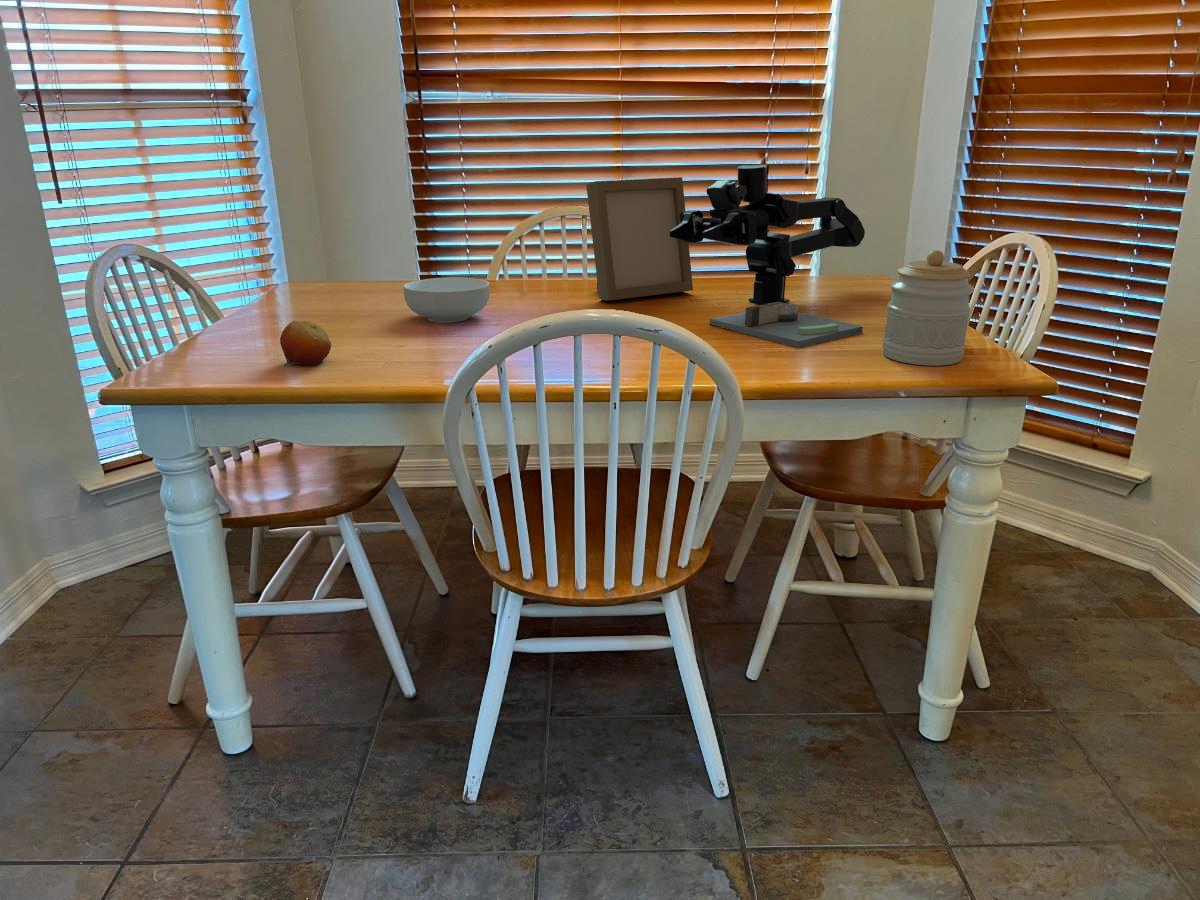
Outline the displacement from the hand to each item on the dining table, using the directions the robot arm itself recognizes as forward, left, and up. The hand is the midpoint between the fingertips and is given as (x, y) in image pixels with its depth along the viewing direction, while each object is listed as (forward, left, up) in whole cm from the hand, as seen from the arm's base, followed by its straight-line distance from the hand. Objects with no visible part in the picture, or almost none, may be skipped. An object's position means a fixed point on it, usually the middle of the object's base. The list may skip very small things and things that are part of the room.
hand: (686, 234), depth 166 cm
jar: (-12, +46, -17) cm, 50 cm away
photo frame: (-8, -25, -17) cm, 31 cm away
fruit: (+71, -14, -17) cm, 74 cm away
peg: (-8, +16, -15) cm, 23 cm away
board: (-9, +18, -16) cm, 26 cm away
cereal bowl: (+37, -29, -17) cm, 50 cm away
